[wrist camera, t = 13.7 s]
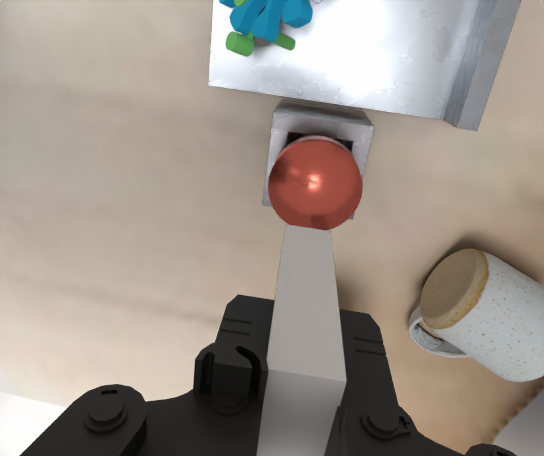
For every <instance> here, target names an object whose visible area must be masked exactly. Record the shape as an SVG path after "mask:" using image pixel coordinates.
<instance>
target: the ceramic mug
mask: <svg viewBox="0 0 544 456" xmlns="http://www.w3.org/2000/svg"><path fill="white" fill-rule="evenodd" d="M422 320H424V322H425V323H426V324H427V325H428V326H429V327H430V328H431V329H432V330H433V331H434V332H435V333H436V334H437V335H438V336H440V337H441V338H443V339H444V340H445V341H441V340H438V339H435V338H433V337H431V336H430V335H428V334H427V333H426V332H425V331H423V330H422V329H421V328H420V327H419V326H417V325H416V324H417V323H418V322H419V321H422ZM408 328H409V335H410V337H411V339H412V340H413V341H414V342H415V343H416V344H417V345H418V346H420V347H421V348H422V349H424V350H426V351H428V352H430V353H433V354H436V355H439V356H444V357H453V358H459V357H472V358H473V359H474V360H476V361H477V362H479V363H480V364H482V365H483V366H485V367H486V368H488V369H489V370H491V371H492V372H493V373H495V374H497V375H498V376H500V377H502V378H504V379H506V380H510V381H517V382H524V381H530V380H534V379H537V378H539V377H542V376H543V375H544V286H543V285H541V284H540V283H538V282H536V281H535V280H533V279H531V278H530V277H528V276H527V275H525V274H523V273H521V272H519V271H518V270H516V269H514V268H513V267H511V266H510V265H508V264H507V263H505V262H503V261H502V260H500V259H499V258H497V257H495V256H493V255H491V254H488V253H486V252H483V251H480V250H477V249H463V250H460V251H457V252H455V253H453V254H451V255H449V256H448V257H446V258H445V259H444V260H443V261H441V262H440V263H439V264H438V265H437V266H436V268H435V269H434V270H433V272H432V273H431V274H430V276H429V277H428V279H427V281H426V283H425V285H424V287H423V290H422V293H421V297H420V306H419V307H417V308H416V309H415V310H414V311H413V312H412V314H411V316H410V319H409V327H408Z"/></svg>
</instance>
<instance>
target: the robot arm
mask: <svg viewBox="0 0 544 456" xmlns="http://www.w3.org/2000/svg"><path fill="white" fill-rule="evenodd" d="M20 456H517V455H515V454H514V453H512V452H510V451H508V450H506V449H504V448H501V447H499V446H496V445H491V444H483V443H481V444H478V445H475V446H471V447H470V449H469V450H468V451H467V453H466V454H465V455H463V454H461V453H458V452H456V451H454V450H452V449H449V448H447V447H445V446H443V445H440V444H438V443H436V442H434V441H432V440H430V439H429V438H427V437H425V436H424V435H422V434H421V433H420V432H418V431H417V429H416V427H415V425H414V423H413V421H412V419H411V417H410V416H409V415H408V414H407V413H406V412H405V411H404V410H403V409H402V408H401V407H400V406H399V405H398V401H397V397H396V393H395V389H394V385H393V381H392V377H391V372H390V368H389V364H388V360H387V357H386V352H385V348H384V345H383V339H382V335H381V331H380V327H379V326H378V325H377V324H376V322H375V321H374V320H373V319H372V317H371V316H370V315H369V314H366V313H360V312H353V311H347V310H341V309H339V305H338V295H337V286H336V276H335V267H334V257H333V248H332V238H331V231H326V230H319V229H313V228H306V227H300V226H293V225H287V224H286V226H285V232H284V239H283V245H282V251H281V258H280V264H279V271H278V277H277V283H276V290H275V296H274V300H270V299H263V298H257V297H251V296H244V295H237V296H236V297H235V298H234V299H233V300H232V301H230V302H229V303H228V304H227V306H226V309H225V313H224V316H223V320H222V322H221V325H220V328H219V331H218V334H217V337H216V340H215V343H212V344H210V345H209V346H207V347H205V348H204V349H202V350H201V351H200V353H199V354H198V356H197V357H196V359H195V370H194V385H193V389H192V390H191V391H189V392H188V393H186V394H183V395H181V396H178V397H175V398H170V399H165V400H156V401H147V402H145V400H144V398H143V396H142V395H141V393H139V392H138V391H136V390H135V389H133V388H132V387H129V386H124V385H119V384H114V385H104V386H100V387H98V388H95V389H92V390H90V391H87V392H86V393H85V394H83V395H82V396H81V397H79V398H78V399H77V400H75V401H74V402H73V403H72V404H71V405H70V406H69V407H68V408H67V409H66V410H65V411H64V412H63V413H62V414H61V415H60V416H59V417H58V418H57V419H56V420H55V421H54V422H53V423H52V424H51V425H50V426H49V427H48V428H47V429H46V430H45V431H44V432H43V433H42V434H41V435H40V436H39V437H38V438H37V439H36V440H35V441H34V442H33V443H32V444H31V445H30V446H29V447H28V448H27V449H26V450H25V451H24V452H23V453H22V454H21V455H20Z"/></svg>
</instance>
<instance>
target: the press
mask: <svg viewBox="0 0 544 456" xmlns="http://www.w3.org/2000/svg"><path fill="white" fill-rule="evenodd" d="M309 2H310V5H311V7H312V10H313V16H312V20H311V22H309V23H308V24H306V25H304V26H302V27H299V28H293V27H291V26H289V25H287V24H285V23H284V22H283V20H282V18H281V20H280V23H279V32H281V33H283V34H285V35H287V36H289V37H291V38H293V39H294V40H295V46H294V48H293V49H292V50H287V49H285V48H283V47H280V46H278V45H276V44H274V43H271V42H268V43H267V44H266V45H264V46H259V45H256V44H254V50H253V52H252V54H251V55H250V56H248V57H245V56H242V55H240V54H237V53H235V52H232V51H230V50H227V48H226V45H225V42H226V38H227V36H228V34H229V33H230V32H231V31H234V29H233V27H232V25H231V23H230V18H229V16H230V14H231V12H232V10H233V9H234V8H235V7H234V8H229V7H227V6H225V5H223V4H221V3H219V0H214V2H213V18H212V35H211V51H210V68H209V84H208V85H210V86H217V87H224V88H231V89H237V90H244V91H251V92H258V93H264V94H271V95H278V96H285V97H291V98H298V99H305V100H312V101H318V102H325V103H332V104H339V105H346V106H352V107H359V108H366V109H373V110H379V111H386V112H393V113H400V114H406V115H413V116H420V117H427V118H433V119H440V120H444V121H446V122H447V123H449V124H451V125H452V126H454V127H456V128H460V129H467V130H473V131H477V129H478V126H479V124H480V121H481V118H482V115H483V112H484V109H485V106H486V103H487V100H488V97H489V94H490V91H491V88H492V85H493V82H494V79H495V76H496V73H497V70H498V67H499V64H500V61H501V58H502V56H503V53H504V50H505V47H506V44H507V41H508V38H509V35H510V32H511V29H512V26H513V23H514V20H515V17H516V14H517V11H518V8H519V5H520V2H521V0H309ZM236 7H237V6H236ZM235 32H236V31H235ZM237 33H238V32H237ZM239 34H241V33H239ZM242 35H243V34H242ZM373 130H374V126H373V124H372V123H371V122H370V120H369V119H368V117H367V116H366V115H365V113H364V112H359V111H353V110H346V109H339V108H333V107H326V106H319V105H312V104H306V103H299V102H292V101H285V100H282V101H281V102H280V104H279V105H278V106H277V108H276V109H275V111H274V114H273V122H272V130H271V138H270V146H269V154H268V161H267V169H266V177H265V185H264V193H263V200H262V205H265V206H271V207H273V206H272V204H271V202H270V199H269V194H268V180H269V176H270V173H271V170H272V167H273V165H274V162H275V160H276V158H277V156H278V155H279V154H280V152H281V151H282V150H283V149H284V148H285V147H286V146H287V145H289V142H290V135H291V132H296V133H303V134H310V135H316V136H324V137H329V138H336V139H343V140H344V142H343V145H344V146H345V147H346V148H347V149H348V150H349V151H350V152H351V153H352V155H353V156H354V158H355V160H356V162H357V165H358V167H359V170H360V174H361V177H362V178H363V173H364V169H365V165H366V160H367V156H368V152H369V147H370V143H371V139H372V135H373ZM354 212H355V211H354ZM353 216H354V213H353V214H352V215H351V216H350V217H349V218H348V219H353Z"/></svg>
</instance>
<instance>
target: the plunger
mask: <svg viewBox="0 0 544 456" xmlns="http://www.w3.org/2000/svg"><path fill="white" fill-rule="evenodd" d="M268 194H269V199H270V202H271V204H272V206H273V208H274V210H275V211H276V213H277V214H278V215H279V216H280V218H281V219H283V220H284V221H285V222H286V223H288V224H289V225H293V226H300V227H306V228H313V229H319V230H329V229H332V228H335V227H337V226H339V225H341V224H342V223H343V222H345V221H346V220H347V219H348V218H349V217H350V216H351V215H352V214H353V213H354V211H355V210H356V208H357V207H358V204H359V202H360V199H361V196H362V177H361V174H360V170H359V167H358V165H357V162H356V160H355V158H354V156H353V155H352V153H351V152H350V151H349V150H348V149H347V148H346V147H345V146H344V145H343V144H341V143H340V142H338V141H336V140H334V139H333V138H329V137H324V136H316V135H310V134H302V135H301V136H300V137H299V138H298V140H295V141H293V142H292V143H290V144H289V145H287V146H286V147H285V148H284V149H283V150H282V151H281V152H280V154H279V155H278V156H277V158H276V160H275V162H274V165H273V167H272V170H271V173H270V176H269V180H268Z"/></svg>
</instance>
